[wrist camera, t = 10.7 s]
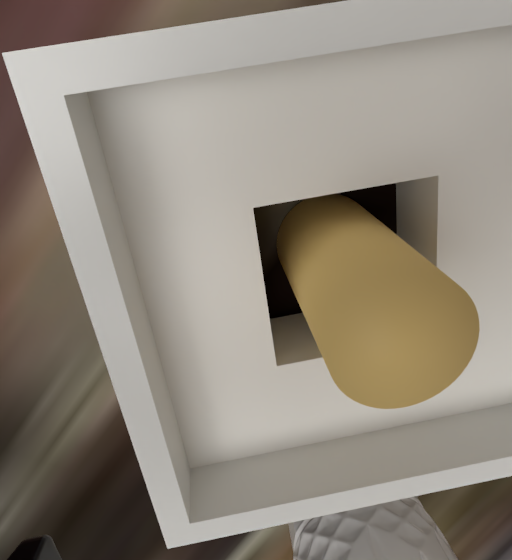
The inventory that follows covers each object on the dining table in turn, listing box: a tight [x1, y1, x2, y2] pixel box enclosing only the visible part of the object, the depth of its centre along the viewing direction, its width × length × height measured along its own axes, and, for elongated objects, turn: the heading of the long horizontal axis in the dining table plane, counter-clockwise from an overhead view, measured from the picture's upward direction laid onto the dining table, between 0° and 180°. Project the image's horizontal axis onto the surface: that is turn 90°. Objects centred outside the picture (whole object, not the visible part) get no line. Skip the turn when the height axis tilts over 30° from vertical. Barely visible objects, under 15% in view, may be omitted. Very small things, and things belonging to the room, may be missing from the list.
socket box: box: [2, 0, 512, 549], centre depth 16 cm, size 16×16×6 cm
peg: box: [276, 194, 480, 409], centre depth 16 cm, size 4×4×8 cm
